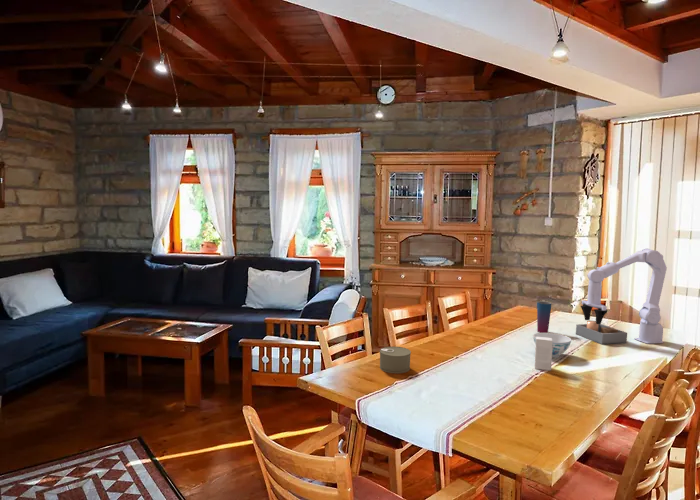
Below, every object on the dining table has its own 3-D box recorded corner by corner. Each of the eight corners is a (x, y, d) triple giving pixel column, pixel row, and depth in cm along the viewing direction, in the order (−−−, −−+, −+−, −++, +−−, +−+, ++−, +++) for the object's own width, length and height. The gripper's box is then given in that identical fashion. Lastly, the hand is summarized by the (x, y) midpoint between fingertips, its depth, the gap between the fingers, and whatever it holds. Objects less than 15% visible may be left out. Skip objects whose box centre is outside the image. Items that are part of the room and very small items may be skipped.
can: (405, 375, 177) (406, 357, 176) (375, 371, 181) (375, 353, 180) (413, 365, 188) (414, 348, 187) (384, 361, 192) (384, 344, 191)
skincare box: (550, 367, 188) (552, 337, 187) (551, 370, 184) (553, 340, 183) (533, 365, 190) (535, 336, 189) (534, 368, 186) (536, 338, 185)
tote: (598, 333, 241) (599, 323, 240) (626, 343, 224) (627, 332, 223) (575, 334, 238) (576, 324, 237) (601, 344, 221) (602, 334, 220)
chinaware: (575, 355, 204) (576, 337, 204) (562, 363, 194) (563, 344, 193) (540, 347, 215) (541, 330, 214) (526, 354, 204) (527, 337, 203)
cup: (547, 330, 245) (549, 301, 243) (551, 333, 238) (553, 304, 236) (533, 329, 245) (535, 301, 244) (537, 333, 239) (539, 303, 237)
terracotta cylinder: (594, 334, 236) (594, 320, 235) (599, 337, 231) (600, 323, 230) (584, 334, 236) (585, 320, 235) (589, 337, 231) (590, 323, 230)
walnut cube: (609, 337, 231) (610, 327, 231) (616, 340, 226) (617, 330, 226) (600, 337, 230) (601, 327, 230) (607, 340, 225) (608, 330, 225)
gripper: (577, 291, 237) (575, 318, 238) (598, 297, 223) (596, 326, 224) (589, 291, 239) (587, 318, 240) (611, 297, 225) (609, 325, 226)
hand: (592, 321), depth 232 cm, fingers open, 7 cm apart
